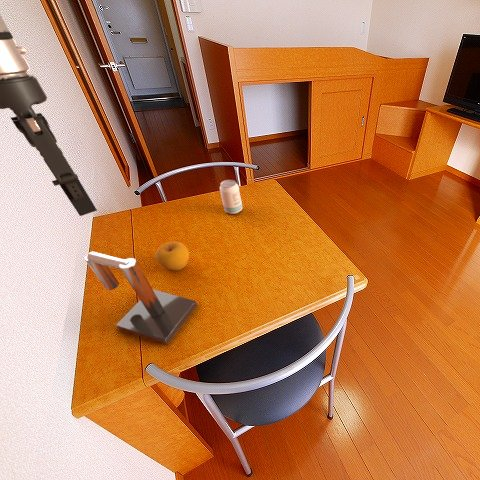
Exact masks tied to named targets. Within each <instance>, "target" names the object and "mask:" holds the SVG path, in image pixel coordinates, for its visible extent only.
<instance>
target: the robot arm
mask: <svg viewBox="0 0 480 480" xmlns="http://www.w3.org/2000/svg"><path fill="white" fill-rule="evenodd" d="M27 53H28V51H27V50H26V48H25V47H24V46H22V45H17V42H16V40H15V39H14V36H13V35H12V33H11V31H10V29H9V28H8V26H7V24H6V22H5V20H4V19H3V16H2V15H1V14H0V110H5V109H9V110H11V111H12V113H13V115H15V116H10V121H12V123H13V124H14V126H15V127H16V129H17V131H18V132H19V133H21V134H22V135H23V136H24V139H26V141H27V142H28V144H29V146H30V147H32V148H34V149H36V151H38V152H39V155H40V156H41V157H42V159H43V161H44V163H45V164H46V166H47V167H48V169H49V171H50V172H51V173H52V175H53V177H54V178H55V179H54V180H51V182H52V184H53V186H55V187H56V186H59V187H60V188H61V189H62V191H63V193H64V194H65V196H66V197H67V199H68V200H69V202H70V203H71V204H72V206H73V208H74V209H75V211H76V212H77V214H78V215H79V217H83V216H85V215H88V214H91V213H94V212H97V211H98V209H97V208H96V206H95V204H94V202H93V201H92V199H91V198H90V196H89V194H88V192H87V191H86V188H84V186H83V184H82V183H81V181H80V179H79V175H78V174H76V173H75V171H74V169H73V168H72V166H71V165H70V163H69V161H68V160H67V158H66V156H64V152H63V150H62V149H61V147H59V146H58V144H57V142H58V140H57V138H56V136H55V134H54V133H53V131H52V129H51V126H50V123H49V121H48V120H47V119H46V117H45V115H43V113H42V112H35V110H34V109H33V106H34V105H41V104H43V103H45V102H47V100H48V96H47V94H46V92H45V91H44V89H43V87H42V85H41V84H40V82H39V80H38V78H37V76H35V75H34V74H31V73H28V72H29V71H30V70H31V66H30V65H29V63H28V61H27V60H26V58H25V57H24V56H22V55H26V54H27Z"/></svg>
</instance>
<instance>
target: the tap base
mask: <svg viewBox="0 0 480 480" xmlns="http://www.w3.org/2000/svg"><path fill="white" fill-rule="evenodd" d="M152 289H153V291H154V293H155V294H156V296H157V298H158V300H159V301H160V303H161V305H162V307H163V309H164V311H163V313H162V314H161V315H160V316H158V317H151V316H150V314H149V313H148V311H147V310H146V308H145V306H144V305H143V303H142V302H141V300H140V299H139V301H138V302H137V303H136V304H135V305H134V306H133V307H132V308H131V309H130V310H129V311H128V312H127V313H125V315H124V316H123V317H122V318H121V319H120V321H118V322H117V323H116V325H115V326H116V328H117V329H118V330H119V331H121V332H125V333H128V334H131V335H134V336H138V337H141V338H144V339H148V340H151V341H154V342H156V343H160V344H163V345H167V346H168V345H169V344H170V343H171V341H172V339H173V338H174V337H175V336H176V334H177V333H179V331H180V329H181V328H182V326H183V325H184V324H185V322H187V320H188V318H189V317H190V316H191V315H192V313H193V312H194V310H195V309H196V308H197V307H198V303H197V301H196V300H194V299H190V298H186V297H182V296H179V295H176V294H172V293H169V292H165V291H161V290H157V289H154V288H152Z"/></svg>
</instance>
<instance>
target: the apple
mask: <svg viewBox="0 0 480 480" xmlns="http://www.w3.org/2000/svg"><path fill="white" fill-rule="evenodd" d="M154 258H155V261H156V263H157V264H159V265H160V266H161V267H162V268H164V269H166V270H170V271H180V270H182V269H184V268H185V267H186V265H187V263H188V262H189V259H190V252H189V248H188V247H187V246H186V245H185V244H184V243H183V242H179V241H168V242H165V243H163V244H161V245H160V246H159V247H158V248H157V250H156V252H155V256H154Z"/></svg>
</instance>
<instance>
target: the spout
mask: <svg viewBox="0 0 480 480" xmlns="http://www.w3.org/2000/svg"><path fill="white" fill-rule="evenodd" d="M84 261H85V262H86V264H87V265H88V266H89V268H90V269H91V270H92V273H94V274H95V276H96V277H97V279H98V280H99V281H100V282H101V284H102V285H103V287H104V288H105V289H106V290H107V291H112V290H115V289H117V288H118V287H119V286H120V282H119V280H118V279H117V277H116V275H114V273H113V271H112V270H111V268H113V269H118V270H121V272H122V274H123V275H124V277H125V279H126V280H127V281H128V283H129V284H130V287H131V288H132V289H133V291H134V293H135V294H136V295H137V297H138V299H139V301H140V300H141V302H142V303H143V305H144V306H145V308H146V310H147V311H148V313H149V314H150V316H151V317H158V316H160V315H161V314H162V313H163V311H164V309H163V307H162V305H161V303H160V301H159V300H158V298H157V296H156V294H155V293H154V291H153V289H154V288H153V287H152V285H151V284H150V282H149V280H148V278H147V276H146V275H145V274H144V273H145V272H144V271H143V270H142V268H141V267H140V265H139V263H138V261H137V259H136V258H133V257H128V258H126V259H125V258H120V257H116V256H111V255H108V254H105V253H100V252H97V251H90V252H89V253H88V254H87V255H85V256H84Z"/></svg>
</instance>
